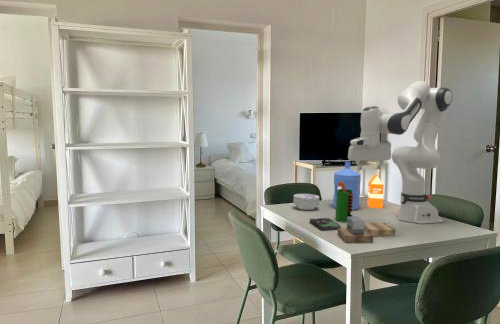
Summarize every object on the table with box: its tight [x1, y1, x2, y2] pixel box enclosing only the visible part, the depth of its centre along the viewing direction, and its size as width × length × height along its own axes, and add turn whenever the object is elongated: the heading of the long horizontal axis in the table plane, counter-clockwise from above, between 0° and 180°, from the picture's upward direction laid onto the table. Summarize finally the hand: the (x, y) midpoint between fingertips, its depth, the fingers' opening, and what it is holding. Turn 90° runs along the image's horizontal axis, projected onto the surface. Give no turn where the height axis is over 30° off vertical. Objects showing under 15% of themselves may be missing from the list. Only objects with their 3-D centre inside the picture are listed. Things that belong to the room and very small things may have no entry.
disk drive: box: [309, 217, 342, 232], centre depth 188 cm, size 10×3×15 cm
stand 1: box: [337, 227, 374, 244], centre depth 169 cm, size 12×12×3 cm
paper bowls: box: [292, 193, 320, 211], centre depth 226 cm, size 15×15×8 cm
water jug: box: [332, 161, 362, 211], centre depth 228 cm, size 16×16×28 cm
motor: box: [334, 182, 354, 223], centre depth 200 cm, size 10×9×20 cm
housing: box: [346, 216, 365, 235], centre depth 168 cm, size 5×8×6 cm, turn 3°
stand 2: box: [364, 222, 396, 237], centre depth 179 cm, size 12×12×3 cm
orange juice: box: [366, 173, 384, 209], centre depth 232 cm, size 8×9×20 cm
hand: (369, 169), depth 182 cm, fingers open, 8 cm apart
